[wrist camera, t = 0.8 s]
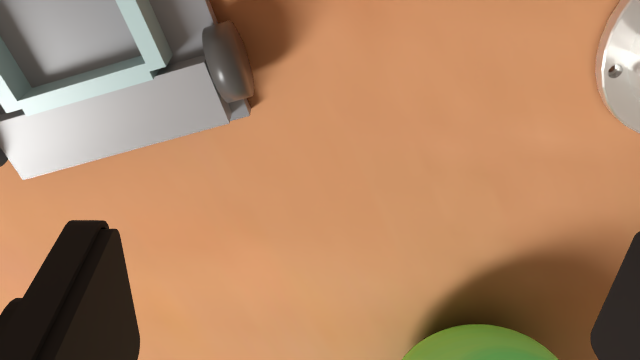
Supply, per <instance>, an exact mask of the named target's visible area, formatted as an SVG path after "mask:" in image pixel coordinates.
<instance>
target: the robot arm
mask: <svg viewBox="0 0 640 360" xmlns="http://www.w3.org/2000/svg"><path fill="white" fill-rule="evenodd" d="M595 76H596V81H597V87H598V91H599V94H600V96H601V98H602V100H603V103H604V105H605V106H606V107H607V108H608V110H609V111H610V112H611V113H612V115H613V116H614V117H616V118H617V119H618V120H619V121H620V122H622V123H623V124H624V125H625V126H627V127H628V128H630V129H632V130H634V131H636V132H637V133H640V0H620V1H619V3H618V5H617V6H616V8H615V9H614V11H613V12H612V14H611V16H610V17H609V19H608V22H607V24H606V26H605V29H604V31H603V33H602V36H601V38H600V42H599V46H598V51H597V55H596V69H595ZM591 345H592V348H593V350H594V352H595V354H596V356H597V357H598V359H599V360H640V232H638V233H637V234H636V235H635V236H634V238H633V240H632V243H631V245H630V247H629V249H628V251H627V254H626V256H625V258H624V260H623V262H622V265H621V267H620V269H619V271H618V274H617V276H616V278H615V280H614V282H613V285H612V287H611V289H610V291H609V293H608V296H607V298H606V300H605V302H604V305H603V307H602V309H601V311H600V313H599V316H598V318H597V320H596V322H595V324H594V327H593V329H592V332H591ZM139 349H140V335H139V330H138V325H137V320H136V315H135V310H134V304H133V299H132V294H131V289H130V284H129V279H128V274H127V269H126V264H125V258H124V253H123V248H122V243H121V238H120V234H119V231H118V230H117V229H109V226H108V224H107V223H106V221H99V220H71V221H69V222H68V223H67V224H66V225H65V227H64V229H63V230H62V232H61V234H60V235H59V237H58V239H57V241H56V242H55V244H54V246H53V247H52V249H51V251H50V252H49V254H48V256H47V258H46V259H45V261H44V263H43V264H42V266H41V268H40V269H39V271H38V273H37V275H36V276H35V278H34V280H33V281H32V283H31V285H30V286H29V288H28V290H27V292H26V293H25V295H24V297H23V298H15V299H14V300H12V301H11V302H9V304H8V305H7V306H6V307H5V309H4V310H3V312H2V313H1V315H0V360H137V359H138V355H139Z"/></svg>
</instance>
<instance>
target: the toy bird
mask: <svg viewBox="0 0 640 360" xmlns="http://www.w3.org/2000/svg"><path fill="white" fill-rule="evenodd" d="M402 360H559V359H558V358H557V357H556V356H555V355H554V354H553V353H551V352H550V351H549V350H548V349H547V348H546V347H544V346H543V345H542V344H540V343H539V342H537V341H535V340H534V339H532V338H530V337H528V336H526V335H524V334H522V333H519V332H517V331H514V330H511V329H508V328H504V327H500V326H495V325H487V324H469V325H461V326H456V327H452V328H448V329H445V330H442V331H439V332H437V333H435V334H433V335H431V336H429V337H427V338H425V339H424V340H422V341H421V342H419V343H418V344H417V345H415V346H414V347H413V348H412V349H411V350H410V351H409V352H408V353H407V354H406V355H405V356H404V358H403V359H402Z"/></svg>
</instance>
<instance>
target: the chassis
mask: <svg viewBox="0 0 640 360" xmlns="http://www.w3.org/2000/svg"><path fill="white" fill-rule="evenodd" d="M253 94H254V82H253V76H252V71H251V67H250V63H249V60H248V56H247V53H246V50H245V47H244V45H243V42H242V40H241V37H240V35H239V33H238V31H237V29H236V27H235V26H234V24H233V23H232V22H231V21H225V22H222V23H219V24H218V22H217V19H216V17H215V14H214V11H213V9H212V6H211V4H210V1H209V0H0V167H1V166H2V165H4V164H5V163H6V161H7V160H8V159H9V161H10V162H11V163H12V165H13V166H14V168H15V169H16V171H17V172H18V174H19V175H20V177H21V178H22V179H23V180H25V179H29V178H32V177H36V176H40V175H43V174H47V173H51V172H54V171H58V170H62V169H65V168H69V167H72V166H76V165H80V164H83V163H87V162H91V161H94V160H98V159H102V158H105V157H109V156H112V155H116V154H120V153H123V152H127V151H131V150H134V149H138V148H141V147H145V146H149V145H152V144H156V143H160V142H163V141H167V140H171V139H174V138H178V137H181V136H185V135H189V134H192V133H196V132H200V131H203V130H207V129H210V128H214V127H218V126H221V125H225V124H229V123H230V121H232V120H236V119H240V118H243V117H247V116H250V112H251V108H250V105H249V102H248V100H247V98H248V97H252V96H253Z"/></svg>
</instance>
